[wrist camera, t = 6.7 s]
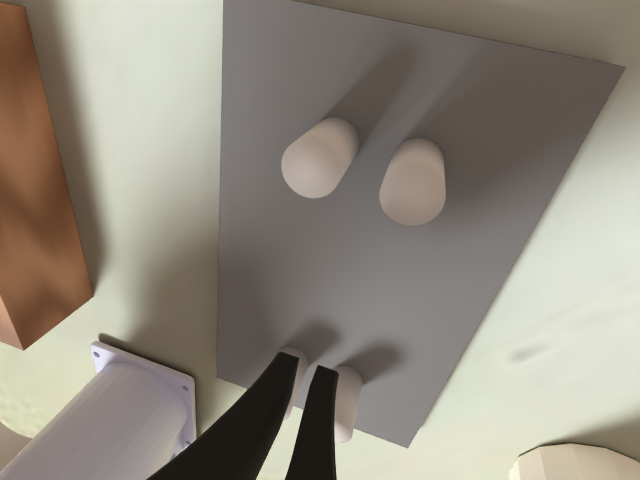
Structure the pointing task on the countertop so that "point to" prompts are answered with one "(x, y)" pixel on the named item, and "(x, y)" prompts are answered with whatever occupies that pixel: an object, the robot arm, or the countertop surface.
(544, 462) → the white cup
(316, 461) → the robot arm
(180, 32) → the countertop surface
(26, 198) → the shelf block
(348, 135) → the peg stand
